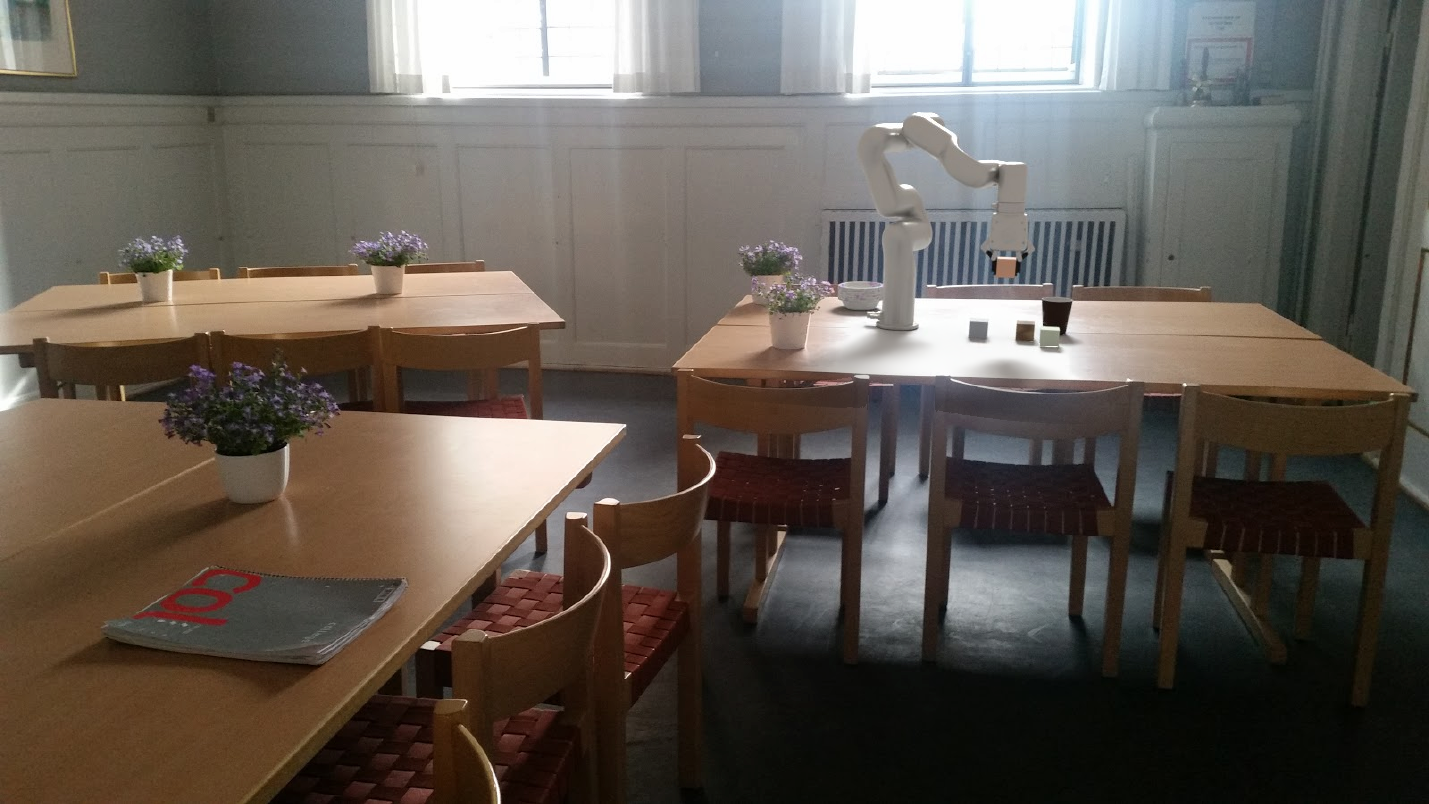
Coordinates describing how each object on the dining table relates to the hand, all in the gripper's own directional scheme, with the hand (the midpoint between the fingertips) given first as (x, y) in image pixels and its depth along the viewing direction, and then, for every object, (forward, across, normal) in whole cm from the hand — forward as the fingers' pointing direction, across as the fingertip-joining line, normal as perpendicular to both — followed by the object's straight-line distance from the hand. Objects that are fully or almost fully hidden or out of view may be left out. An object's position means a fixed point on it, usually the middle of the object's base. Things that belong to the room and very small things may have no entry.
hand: (1005, 274), depth 306 cm
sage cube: (+19, +13, 0) cm, 23 cm away
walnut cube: (+19, +7, +7) cm, 22 cm away
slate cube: (+20, -6, +7) cm, 22 cm away
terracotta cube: (+1, 0, 0) cm, 1 cm away
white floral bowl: (+20, -45, +43) cm, 66 cm away
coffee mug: (+20, +16, +20) cm, 32 cm away
